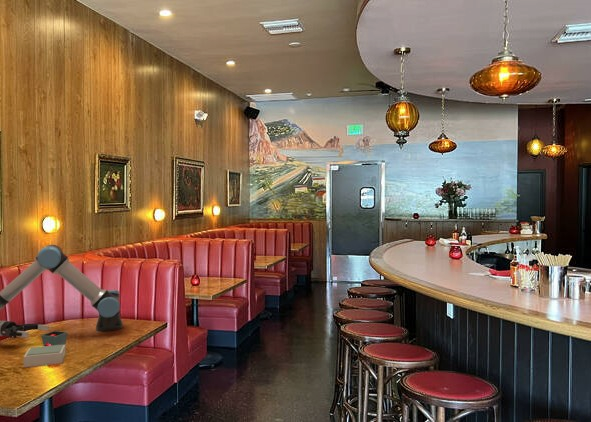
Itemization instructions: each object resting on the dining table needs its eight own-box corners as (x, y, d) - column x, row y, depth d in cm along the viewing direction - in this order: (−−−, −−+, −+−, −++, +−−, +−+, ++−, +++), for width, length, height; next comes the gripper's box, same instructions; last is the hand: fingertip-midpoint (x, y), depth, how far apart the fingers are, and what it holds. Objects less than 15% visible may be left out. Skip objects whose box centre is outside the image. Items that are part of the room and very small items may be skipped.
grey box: (65, 354, 242) (65, 343, 242) (61, 363, 229) (61, 351, 229) (29, 358, 237) (29, 347, 237) (23, 367, 224) (23, 355, 224)
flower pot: (54, 354, 243) (54, 336, 243) (41, 352, 246) (40, 335, 246) (68, 349, 251) (67, 332, 251) (54, 347, 254) (54, 330, 254)
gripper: (24, 329, 269) (56, 332, 263) (-16, 341, 245) (18, 345, 239) (24, 316, 269) (56, 318, 263) (-16, 326, 245) (18, 330, 239)
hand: (38, 331), depth 251 cm, fingers open, 13 cm apart
